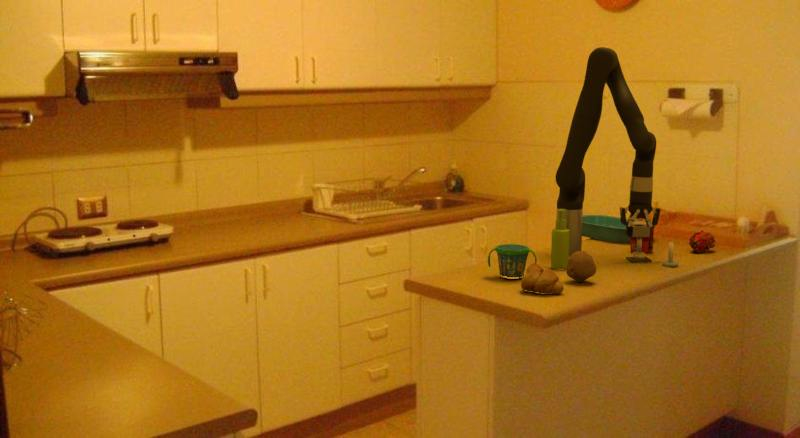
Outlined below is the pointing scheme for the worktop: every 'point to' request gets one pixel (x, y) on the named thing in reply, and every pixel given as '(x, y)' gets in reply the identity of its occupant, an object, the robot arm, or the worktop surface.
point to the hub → (670, 257)
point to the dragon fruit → (702, 241)
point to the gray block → (640, 230)
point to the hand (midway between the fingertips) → (638, 236)
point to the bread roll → (541, 280)
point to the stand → (639, 254)
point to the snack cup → (512, 259)
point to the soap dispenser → (560, 243)
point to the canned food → (643, 241)
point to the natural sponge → (580, 266)
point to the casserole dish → (605, 228)
